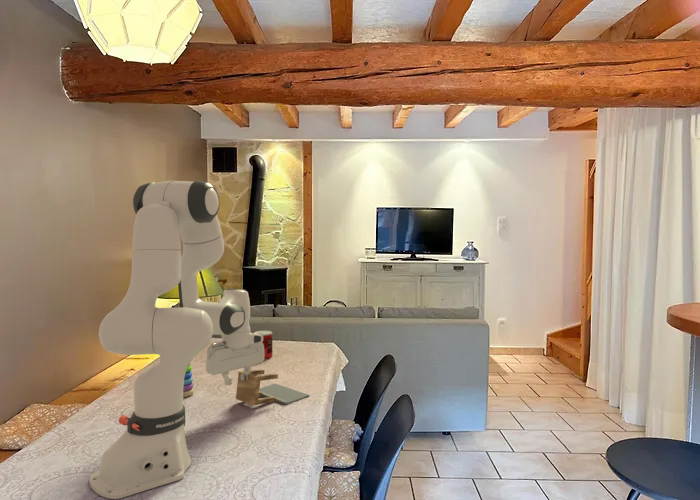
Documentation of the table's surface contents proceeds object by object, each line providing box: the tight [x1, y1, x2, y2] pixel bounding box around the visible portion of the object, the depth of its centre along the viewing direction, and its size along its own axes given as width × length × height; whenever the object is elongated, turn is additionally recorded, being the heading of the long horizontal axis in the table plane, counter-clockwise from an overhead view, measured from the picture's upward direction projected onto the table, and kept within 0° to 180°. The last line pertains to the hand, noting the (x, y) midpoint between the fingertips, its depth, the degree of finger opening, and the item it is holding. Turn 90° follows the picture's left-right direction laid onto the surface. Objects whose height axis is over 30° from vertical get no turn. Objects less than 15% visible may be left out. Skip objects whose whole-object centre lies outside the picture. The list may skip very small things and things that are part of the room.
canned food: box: [253, 330, 273, 360], centre depth 218 cm, size 8×8×11 cm
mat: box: [259, 383, 311, 406], centre depth 173 cm, size 11×18×1 cm, turn 48°
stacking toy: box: [183, 361, 195, 398], centre depth 172 cm, size 8×8×19 cm
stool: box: [235, 368, 279, 407], centre depth 165 cm, size 10×9×9 cm
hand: (236, 382), depth 159 cm, fingers open, 5 cm apart
